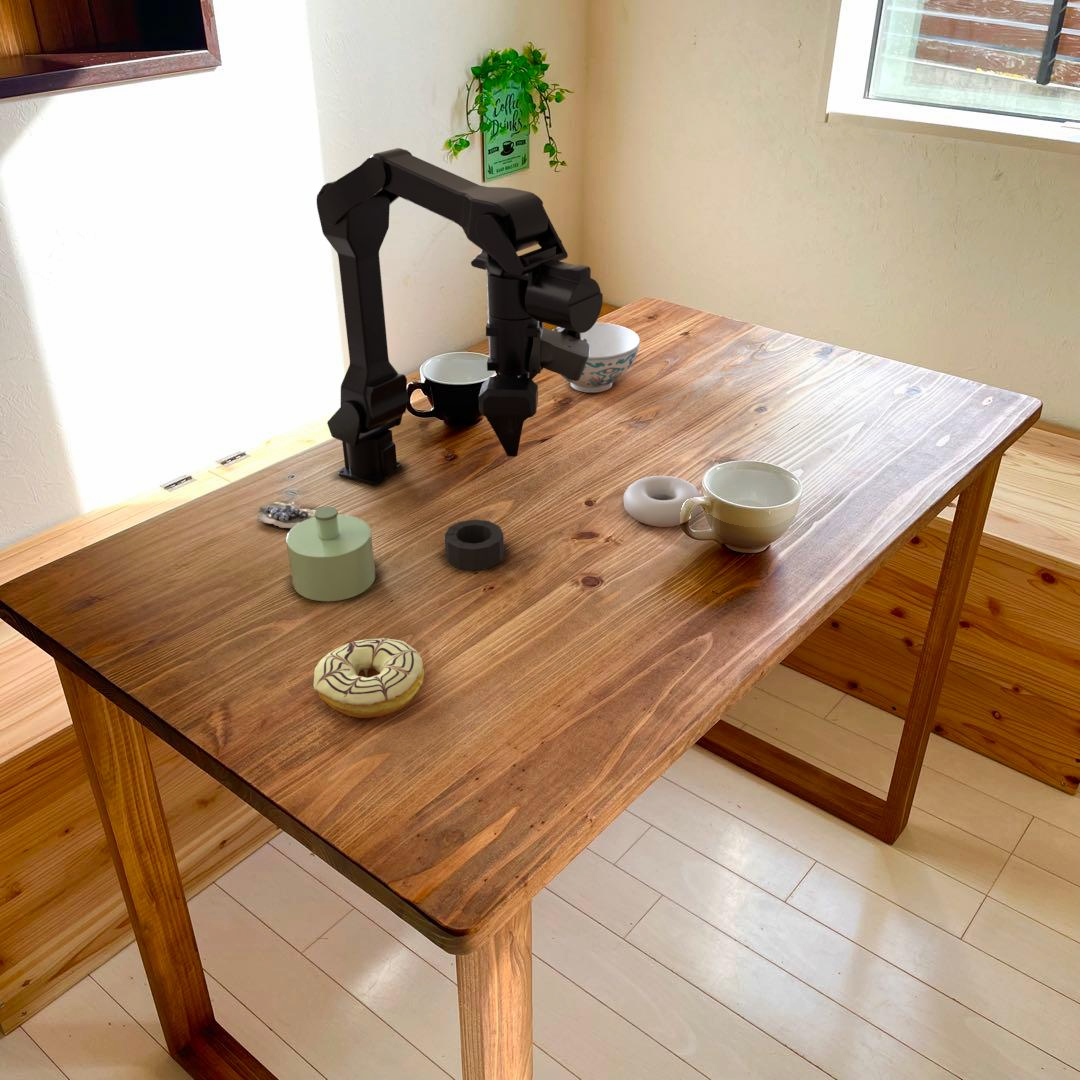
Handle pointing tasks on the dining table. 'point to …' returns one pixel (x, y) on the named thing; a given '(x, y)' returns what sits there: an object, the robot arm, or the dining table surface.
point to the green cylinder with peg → (331, 556)
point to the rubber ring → (474, 544)
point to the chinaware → (606, 356)
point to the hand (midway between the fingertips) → (515, 438)
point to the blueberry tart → (284, 514)
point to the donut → (659, 500)
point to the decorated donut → (369, 677)
